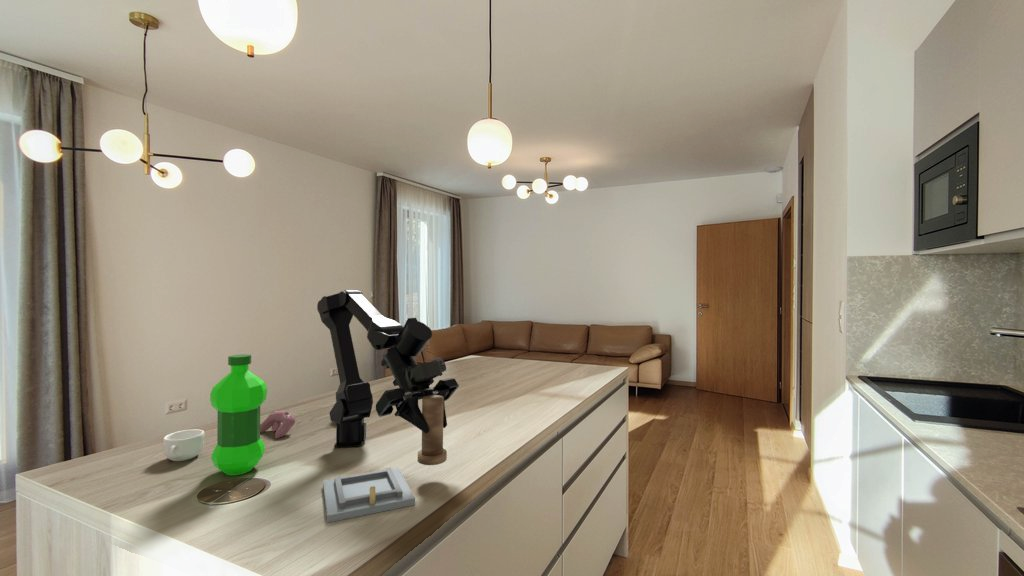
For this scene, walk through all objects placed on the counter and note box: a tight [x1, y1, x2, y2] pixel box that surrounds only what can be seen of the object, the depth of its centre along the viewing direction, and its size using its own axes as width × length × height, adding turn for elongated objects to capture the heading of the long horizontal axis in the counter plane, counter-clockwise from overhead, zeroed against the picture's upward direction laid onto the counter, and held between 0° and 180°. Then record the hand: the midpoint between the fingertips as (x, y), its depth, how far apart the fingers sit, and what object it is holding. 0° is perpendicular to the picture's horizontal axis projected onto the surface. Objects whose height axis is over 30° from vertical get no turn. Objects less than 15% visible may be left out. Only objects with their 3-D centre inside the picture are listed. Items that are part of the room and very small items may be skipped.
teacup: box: [162, 428, 205, 462], centre depth 103 cm, size 10×8×5 cm
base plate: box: [322, 467, 416, 523], centre depth 86 cm, size 15×15×4 cm
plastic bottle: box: [209, 353, 268, 476], centre depth 97 cm, size 10×10×25 cm
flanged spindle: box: [417, 395, 448, 466], centre depth 93 cm, size 6×6×13 cm
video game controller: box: [260, 410, 296, 439], centre depth 122 cm, size 10×5×7 cm, turn 58°
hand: (436, 429), depth 92 cm, fingers closed on flanged spindle, 4 cm apart
